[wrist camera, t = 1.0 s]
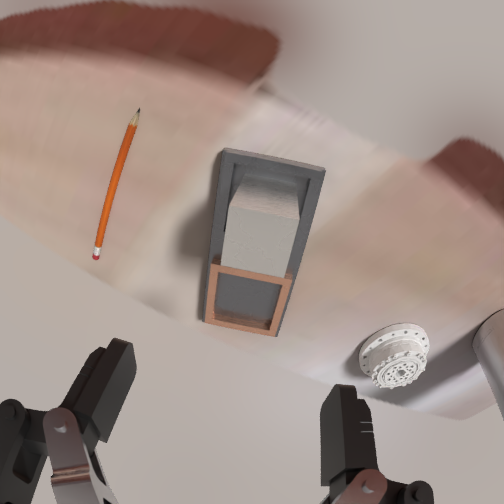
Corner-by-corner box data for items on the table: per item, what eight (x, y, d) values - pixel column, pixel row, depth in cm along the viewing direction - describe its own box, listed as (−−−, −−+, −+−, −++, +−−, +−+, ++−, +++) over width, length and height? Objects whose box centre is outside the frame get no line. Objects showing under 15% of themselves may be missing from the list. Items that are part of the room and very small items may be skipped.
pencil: (94, 254, 34) (91, 258, 33) (138, 105, 25) (134, 105, 24) (100, 257, 34) (97, 261, 33) (145, 108, 25) (142, 108, 24)
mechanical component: (344, 349, 37) (379, 379, 40) (347, 375, 33) (384, 403, 36) (408, 308, 33) (436, 346, 36) (419, 333, 29) (445, 369, 32)
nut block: (296, 183, 26) (299, 219, 19) (285, 229, 28) (283, 277, 21) (245, 173, 26) (229, 205, 19) (237, 219, 28) (220, 265, 21)
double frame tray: (324, 167, 26) (327, 173, 24) (277, 331, 36) (276, 342, 34) (225, 147, 26) (220, 151, 24) (204, 316, 36) (200, 327, 34)
